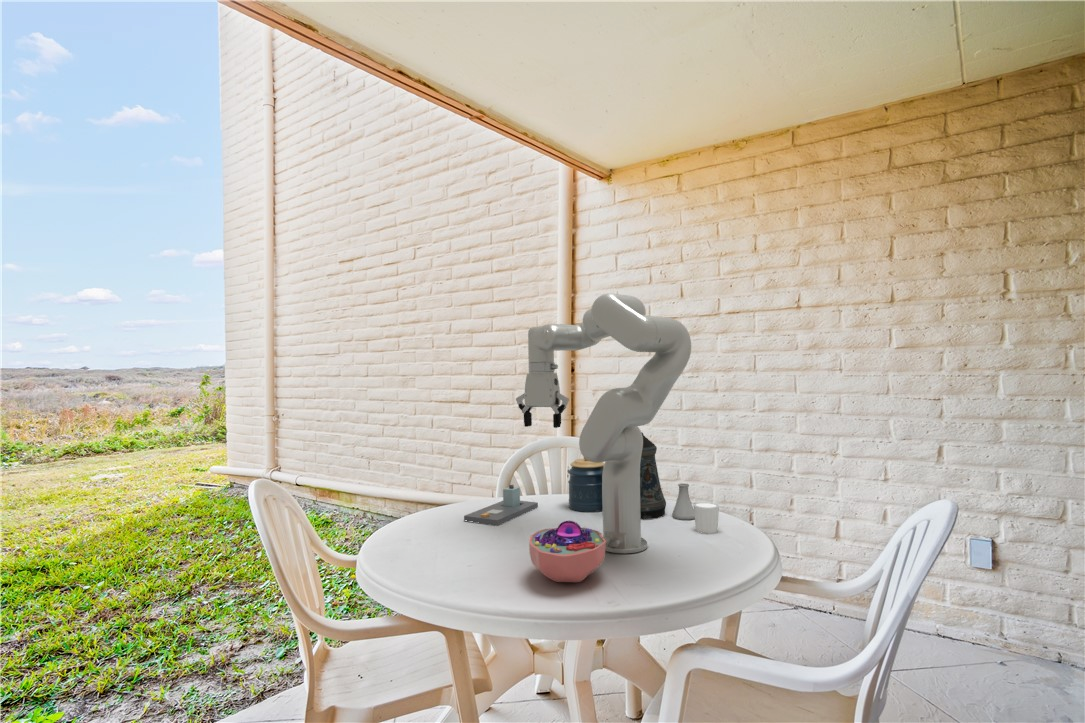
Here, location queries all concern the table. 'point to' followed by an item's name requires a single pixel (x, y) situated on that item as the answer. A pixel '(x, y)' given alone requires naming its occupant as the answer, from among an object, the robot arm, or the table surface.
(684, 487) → the flask
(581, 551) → the cell model
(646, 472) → the beer stein
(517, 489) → the block
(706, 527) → the grey cylinder
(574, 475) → the canister
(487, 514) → the outlet plate
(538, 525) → the table surface
